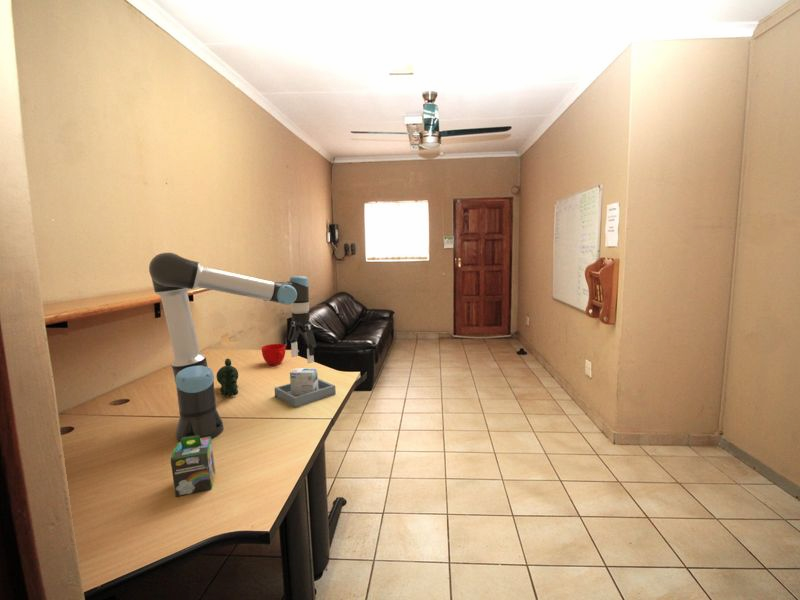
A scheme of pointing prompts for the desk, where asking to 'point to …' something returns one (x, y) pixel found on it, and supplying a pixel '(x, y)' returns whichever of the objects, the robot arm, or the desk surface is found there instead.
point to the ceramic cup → (273, 353)
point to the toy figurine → (228, 379)
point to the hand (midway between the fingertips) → (302, 359)
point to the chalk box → (193, 465)
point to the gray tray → (299, 400)
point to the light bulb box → (303, 380)
